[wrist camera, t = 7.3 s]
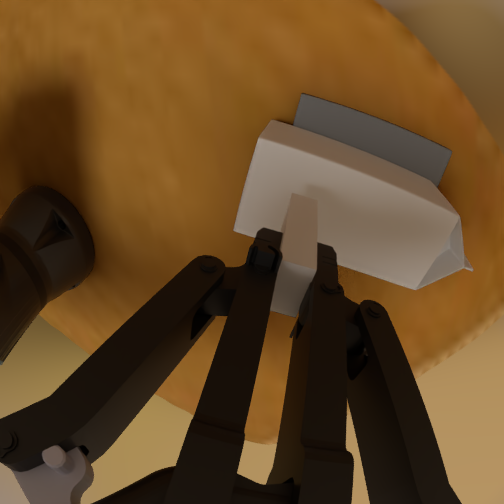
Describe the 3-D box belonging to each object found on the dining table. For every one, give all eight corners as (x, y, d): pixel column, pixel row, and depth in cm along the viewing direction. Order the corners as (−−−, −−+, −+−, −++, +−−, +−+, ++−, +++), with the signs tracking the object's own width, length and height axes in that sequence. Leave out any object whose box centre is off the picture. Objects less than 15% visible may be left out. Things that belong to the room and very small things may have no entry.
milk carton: (255, 136, 18) (495, 235, 18) (269, 118, 24) (462, 196, 24) (230, 231, 22) (450, 303, 22) (248, 192, 28) (429, 256, 28)
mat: (268, 215, 30) (266, 219, 30) (301, 92, 23) (301, 93, 23) (399, 255, 30) (401, 260, 29) (449, 149, 23) (452, 151, 22)
